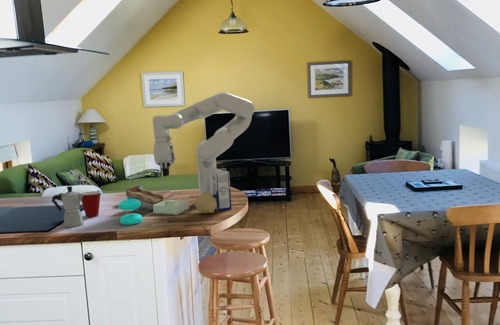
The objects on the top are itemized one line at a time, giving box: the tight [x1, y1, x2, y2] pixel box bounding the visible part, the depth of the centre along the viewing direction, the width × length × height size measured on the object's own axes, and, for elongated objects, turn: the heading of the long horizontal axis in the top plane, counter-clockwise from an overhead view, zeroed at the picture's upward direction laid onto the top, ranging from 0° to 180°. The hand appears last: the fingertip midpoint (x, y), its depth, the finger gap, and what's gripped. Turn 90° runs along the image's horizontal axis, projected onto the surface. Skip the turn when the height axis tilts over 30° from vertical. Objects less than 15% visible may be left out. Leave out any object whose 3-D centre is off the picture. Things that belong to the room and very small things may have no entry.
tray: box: [152, 199, 190, 216], centre depth 245 cm, size 13×11×4 cm
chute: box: [125, 184, 174, 205], centre depth 254 cm, size 16×18×4 cm
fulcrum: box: [131, 201, 154, 214], centre depth 251 cm, size 8×12×5 cm, turn 155°
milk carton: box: [211, 167, 233, 212], centre depth 243 cm, size 7×7×20 cm
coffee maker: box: [51, 185, 85, 229], centre depth 229 cm, size 15×9×18 cm, turn 92°
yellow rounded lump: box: [195, 192, 217, 214], centre depth 236 cm, size 10×12×11 cm
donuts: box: [117, 199, 143, 226], centre depth 228 cm, size 10×10×10 cm
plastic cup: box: [79, 190, 103, 218], centre depth 244 cm, size 11×11×12 cm
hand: (166, 175), depth 256 cm, fingers closed
